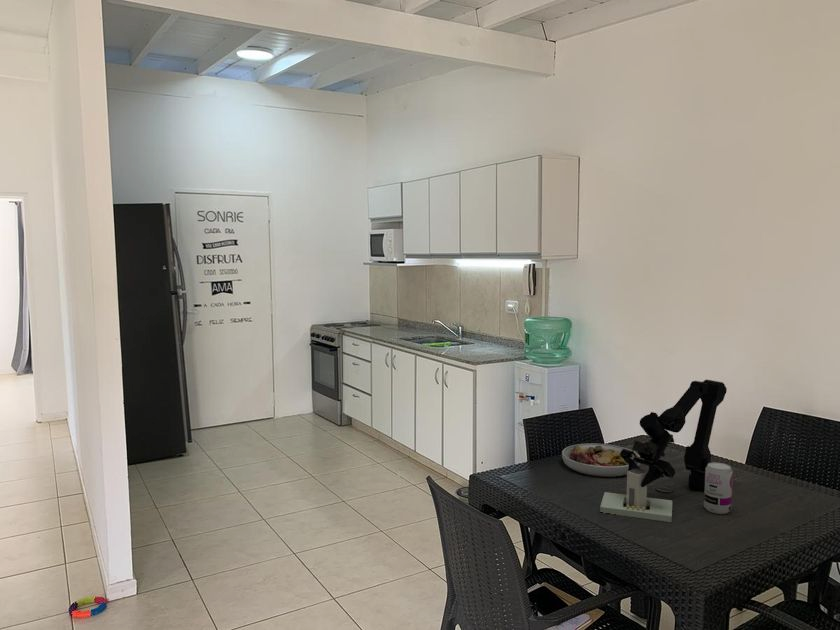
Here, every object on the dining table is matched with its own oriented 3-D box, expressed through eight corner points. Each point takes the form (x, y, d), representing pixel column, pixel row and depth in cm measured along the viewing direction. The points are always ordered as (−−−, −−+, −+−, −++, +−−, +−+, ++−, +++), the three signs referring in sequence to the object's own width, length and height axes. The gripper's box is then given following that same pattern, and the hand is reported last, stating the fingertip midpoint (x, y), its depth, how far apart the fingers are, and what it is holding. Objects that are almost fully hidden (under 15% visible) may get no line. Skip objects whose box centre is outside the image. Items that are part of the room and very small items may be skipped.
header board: (672, 506, 227) (672, 497, 227) (671, 522, 214) (671, 512, 214) (604, 497, 235) (604, 488, 235) (600, 512, 222) (600, 503, 222)
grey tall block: (635, 506, 228) (636, 467, 226) (646, 510, 224) (647, 470, 223) (625, 509, 225) (626, 470, 224) (636, 514, 221) (637, 474, 220)
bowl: (589, 450, 290) (589, 432, 289) (654, 467, 268) (655, 447, 267) (546, 466, 269) (546, 446, 269) (613, 485, 247) (613, 464, 247)
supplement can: (729, 506, 227) (731, 463, 225) (732, 516, 219) (734, 471, 217) (703, 503, 229) (705, 460, 228) (704, 512, 222) (706, 468, 220)
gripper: (623, 425, 232) (601, 462, 227) (670, 438, 216) (647, 478, 212) (638, 444, 237) (616, 480, 232) (685, 457, 222) (662, 497, 217)
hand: (634, 483), depth 223 cm, fingers open, 5 cm apart
